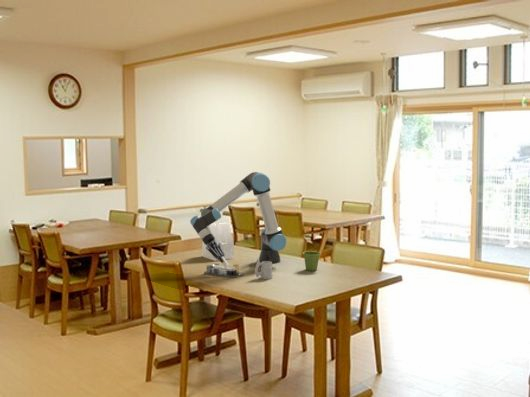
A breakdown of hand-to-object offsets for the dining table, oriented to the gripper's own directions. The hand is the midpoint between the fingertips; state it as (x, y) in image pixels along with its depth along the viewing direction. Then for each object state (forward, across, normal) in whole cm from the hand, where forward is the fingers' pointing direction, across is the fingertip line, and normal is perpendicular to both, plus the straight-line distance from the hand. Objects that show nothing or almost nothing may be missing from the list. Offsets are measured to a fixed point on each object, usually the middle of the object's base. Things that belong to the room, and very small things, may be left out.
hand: (226, 265), depth 384 cm
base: (+2, -1, -6) cm, 6 cm away
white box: (-23, -41, -32) cm, 57 cm away
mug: (+21, -6, +14) cm, 26 cm away
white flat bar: (-1, 0, -4) cm, 4 cm away
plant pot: (+29, -43, +23) cm, 57 cm away
